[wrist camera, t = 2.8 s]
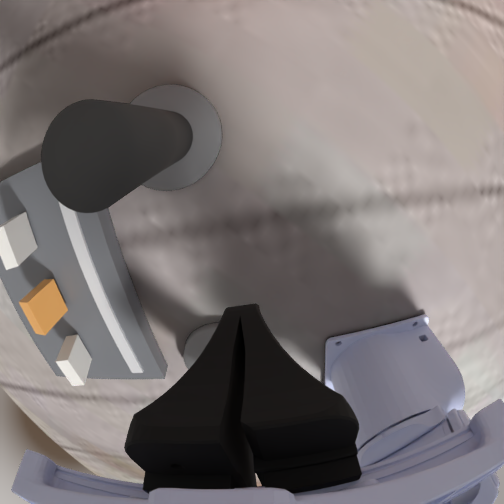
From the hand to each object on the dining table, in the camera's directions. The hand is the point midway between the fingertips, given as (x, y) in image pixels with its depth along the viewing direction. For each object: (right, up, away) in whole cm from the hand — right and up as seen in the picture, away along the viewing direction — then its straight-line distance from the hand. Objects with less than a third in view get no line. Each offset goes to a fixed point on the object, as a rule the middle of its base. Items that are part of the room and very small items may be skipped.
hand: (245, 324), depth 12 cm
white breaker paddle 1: (-15, +4, +3) cm, 16 cm away
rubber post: (-4, +10, +3) cm, 11 cm away
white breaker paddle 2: (-13, -5, +7) cm, 16 cm away
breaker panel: (-14, +1, +7) cm, 16 cm away
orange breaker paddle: (-14, 0, +5) cm, 15 cm away
